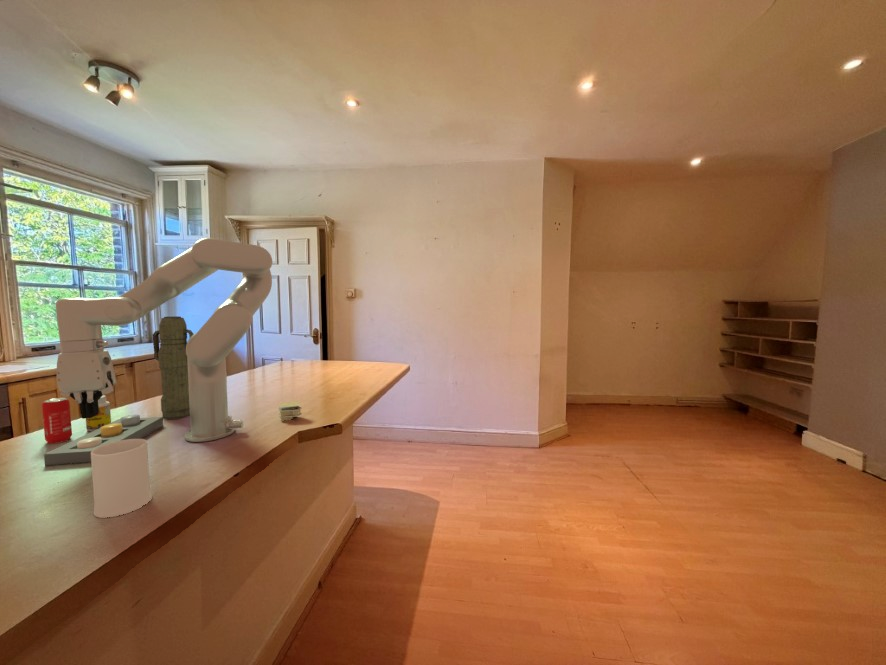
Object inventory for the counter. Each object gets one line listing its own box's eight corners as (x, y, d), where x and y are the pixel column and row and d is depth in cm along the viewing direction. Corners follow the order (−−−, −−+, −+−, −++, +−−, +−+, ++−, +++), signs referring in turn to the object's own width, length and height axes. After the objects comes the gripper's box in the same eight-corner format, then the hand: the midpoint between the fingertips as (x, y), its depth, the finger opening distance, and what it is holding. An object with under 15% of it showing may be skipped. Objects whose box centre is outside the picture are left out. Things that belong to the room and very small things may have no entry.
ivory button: (106, 448, 92) (105, 436, 92) (93, 456, 88) (92, 443, 88) (86, 450, 91) (85, 437, 91) (73, 457, 87) (72, 444, 87)
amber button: (126, 434, 100) (125, 422, 100) (115, 440, 96) (114, 428, 96) (108, 435, 99) (107, 423, 99) (96, 441, 95) (96, 429, 95)
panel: (163, 425, 112) (162, 416, 111) (103, 461, 86) (102, 450, 86) (119, 428, 109) (118, 419, 109) (44, 466, 84) (43, 454, 83)
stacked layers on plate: (275, 426, 113) (275, 410, 113) (273, 418, 121) (273, 403, 120) (307, 421, 118) (307, 405, 118) (303, 414, 126) (303, 399, 125)
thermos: (163, 413, 124) (157, 316, 121) (201, 410, 128) (196, 316, 125) (151, 421, 116) (145, 317, 113) (192, 417, 120) (187, 317, 117)
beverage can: (54, 445, 96) (50, 402, 95) (40, 443, 97) (36, 401, 96) (77, 438, 101) (74, 398, 100) (63, 436, 102) (60, 396, 101)
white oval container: (108, 492, 73) (104, 437, 72) (159, 482, 77) (156, 430, 76) (85, 523, 62) (80, 459, 61) (146, 510, 67) (142, 450, 66)
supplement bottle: (81, 432, 105) (79, 399, 104) (95, 426, 111) (93, 395, 110) (103, 431, 107) (101, 398, 106) (115, 425, 112) (113, 394, 111)
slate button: (143, 424, 108) (143, 414, 108) (134, 429, 104) (133, 418, 103) (127, 425, 107) (126, 415, 107) (117, 430, 103) (116, 419, 102)
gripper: (127, 343, 93) (133, 410, 95) (59, 345, 90) (67, 414, 91) (106, 347, 85) (114, 419, 87) (32, 349, 82) (41, 424, 84)
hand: (90, 416), depth 89 cm, fingers closed
